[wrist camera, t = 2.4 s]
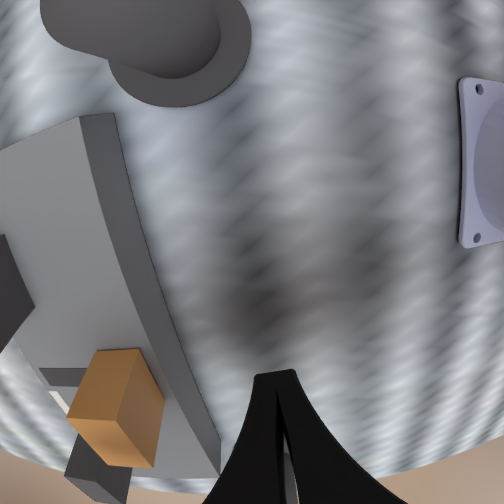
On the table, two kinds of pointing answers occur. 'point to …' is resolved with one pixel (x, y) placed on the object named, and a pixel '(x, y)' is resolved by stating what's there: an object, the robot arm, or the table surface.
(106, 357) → the switch
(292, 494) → the post
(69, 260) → the box
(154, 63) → the grey disc-based knob
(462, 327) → the table surface
